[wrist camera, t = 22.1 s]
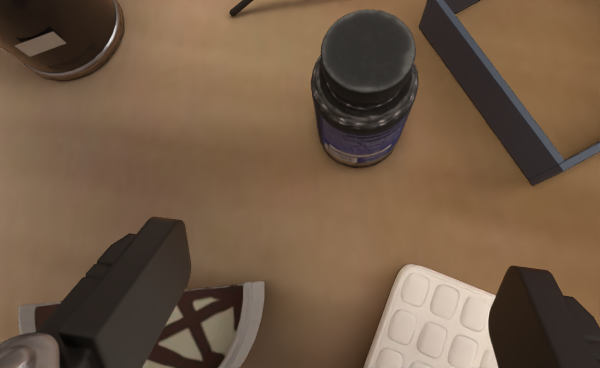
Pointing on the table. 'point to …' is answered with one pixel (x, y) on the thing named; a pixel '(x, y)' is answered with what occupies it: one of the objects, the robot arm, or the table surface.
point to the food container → (192, 327)
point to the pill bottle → (364, 86)
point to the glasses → (239, 7)
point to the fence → (493, 94)
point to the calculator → (433, 324)
